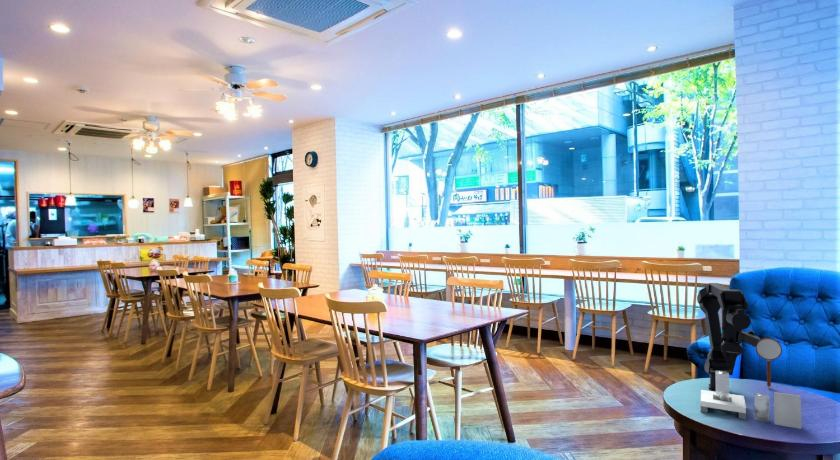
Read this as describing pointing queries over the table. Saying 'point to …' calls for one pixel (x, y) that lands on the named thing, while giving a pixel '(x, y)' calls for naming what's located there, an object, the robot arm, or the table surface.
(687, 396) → the table surface
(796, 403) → the ivan chai tea box
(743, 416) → the hole board
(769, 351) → the magnifying glass
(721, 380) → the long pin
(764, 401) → the short pin
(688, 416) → the table surface
